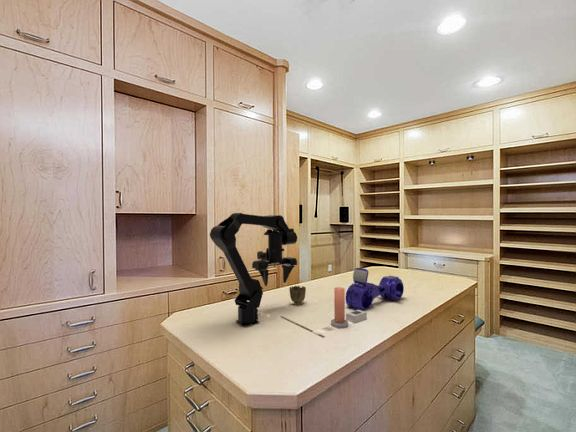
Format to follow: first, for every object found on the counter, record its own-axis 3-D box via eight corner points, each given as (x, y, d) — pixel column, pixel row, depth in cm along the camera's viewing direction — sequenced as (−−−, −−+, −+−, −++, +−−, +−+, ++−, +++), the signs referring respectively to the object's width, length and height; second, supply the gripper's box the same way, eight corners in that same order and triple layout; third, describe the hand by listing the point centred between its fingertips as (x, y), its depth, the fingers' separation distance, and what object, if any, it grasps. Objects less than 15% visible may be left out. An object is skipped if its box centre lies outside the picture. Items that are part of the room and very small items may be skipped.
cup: (286, 306, 127) (286, 288, 127) (293, 301, 133) (293, 284, 133) (301, 308, 123) (301, 290, 123) (308, 304, 130) (308, 286, 130)
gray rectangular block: (354, 323, 105) (354, 315, 105) (346, 319, 108) (345, 312, 108) (366, 318, 109) (366, 311, 109) (358, 316, 112) (358, 309, 112)
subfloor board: (323, 340, 92) (323, 337, 92) (279, 318, 112) (279, 316, 112) (373, 322, 108) (373, 319, 108) (328, 306, 127) (328, 304, 127)
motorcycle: (365, 317, 114) (365, 272, 114) (338, 308, 124) (338, 268, 124) (410, 300, 136) (410, 263, 136) (384, 294, 146) (384, 260, 146)
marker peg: (335, 329, 99) (335, 291, 99) (328, 322, 105) (328, 287, 105) (351, 327, 101) (351, 289, 101) (343, 321, 107) (343, 285, 107)
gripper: (282, 243, 130) (282, 277, 130) (245, 245, 119) (245, 283, 119) (297, 245, 121) (298, 282, 121) (259, 248, 110) (259, 289, 110)
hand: (275, 284), depth 118 cm, fingers open, 9 cm apart
